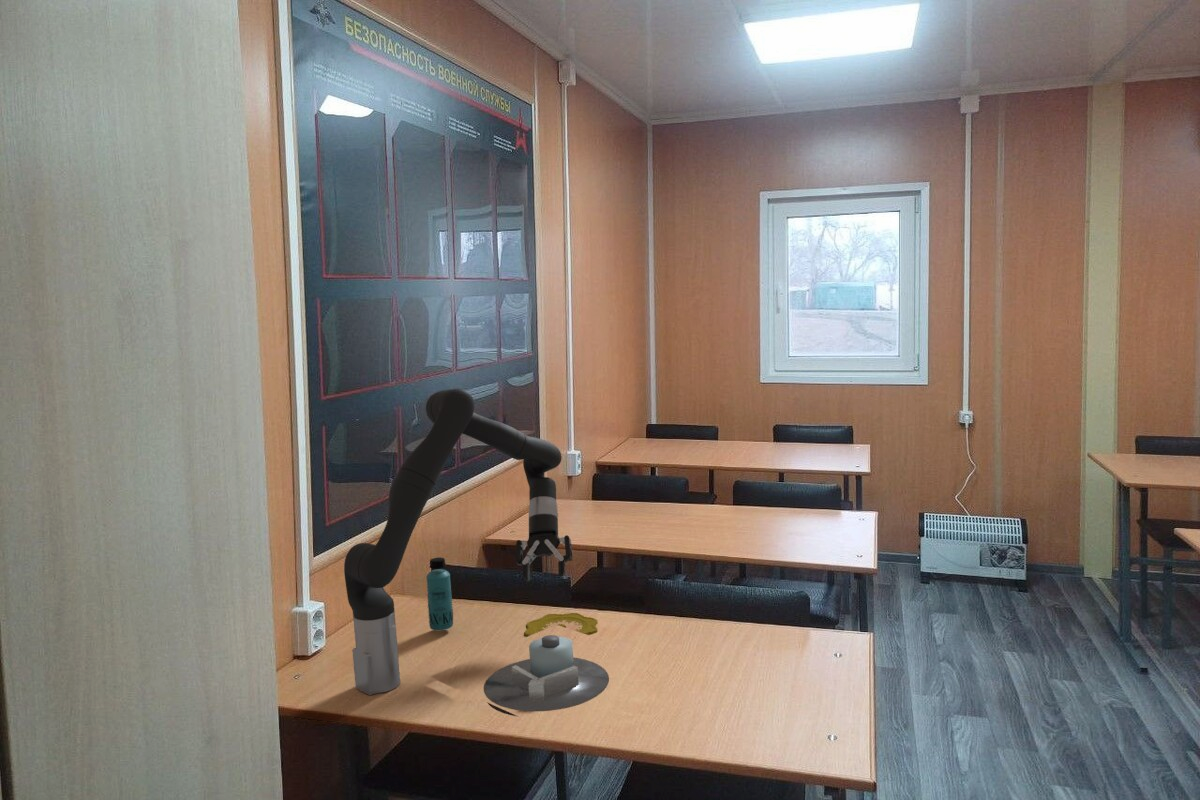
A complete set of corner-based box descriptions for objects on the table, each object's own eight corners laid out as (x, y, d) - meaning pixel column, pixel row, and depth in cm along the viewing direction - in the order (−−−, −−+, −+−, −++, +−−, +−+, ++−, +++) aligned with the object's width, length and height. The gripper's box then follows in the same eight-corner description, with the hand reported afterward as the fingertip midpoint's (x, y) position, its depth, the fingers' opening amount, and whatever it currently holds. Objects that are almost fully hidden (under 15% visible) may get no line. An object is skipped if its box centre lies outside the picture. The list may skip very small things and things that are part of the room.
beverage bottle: (427, 630, 238) (421, 557, 236) (451, 625, 241) (445, 553, 238) (433, 638, 232) (427, 564, 230) (457, 632, 235) (452, 559, 232)
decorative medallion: (598, 614, 244) (598, 609, 244) (597, 642, 225) (597, 636, 224) (527, 617, 244) (527, 612, 244) (520, 645, 225) (520, 640, 225)
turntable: (502, 661, 214) (500, 639, 214) (616, 662, 210) (615, 640, 210) (468, 716, 187) (466, 691, 186) (599, 719, 183) (598, 693, 182)
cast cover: (551, 682, 198) (549, 650, 197) (521, 671, 205) (519, 640, 204) (582, 667, 205) (581, 636, 204) (553, 657, 212) (551, 627, 211)
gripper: (512, 515, 226) (512, 577, 219) (567, 509, 225) (569, 572, 217) (520, 525, 233) (520, 585, 225) (573, 519, 231) (575, 580, 224)
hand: (544, 579), depth 221 cm, fingers open, 8 cm apart
